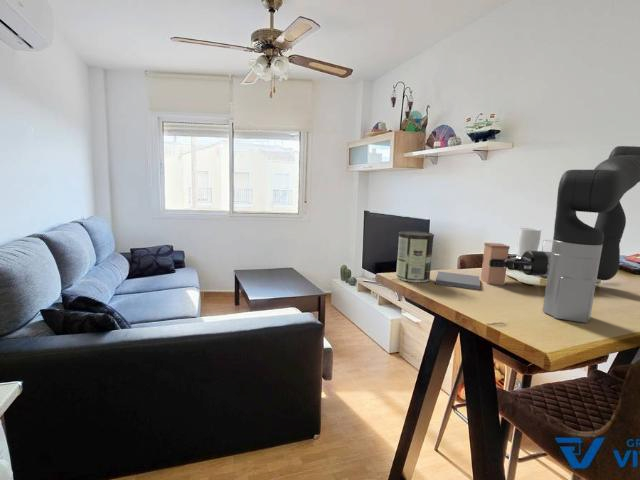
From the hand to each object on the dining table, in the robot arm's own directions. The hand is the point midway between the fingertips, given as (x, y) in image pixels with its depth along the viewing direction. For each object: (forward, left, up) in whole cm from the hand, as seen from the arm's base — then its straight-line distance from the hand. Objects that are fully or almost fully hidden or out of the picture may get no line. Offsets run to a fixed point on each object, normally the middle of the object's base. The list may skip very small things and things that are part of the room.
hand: (486, 260), depth 111 cm
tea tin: (+1, -2, -7) cm, 7 cm away
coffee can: (-8, +21, -7) cm, 23 cm away
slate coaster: (-5, +8, -7) cm, 11 cm away
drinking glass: (+25, -14, -7) cm, 30 cm away
